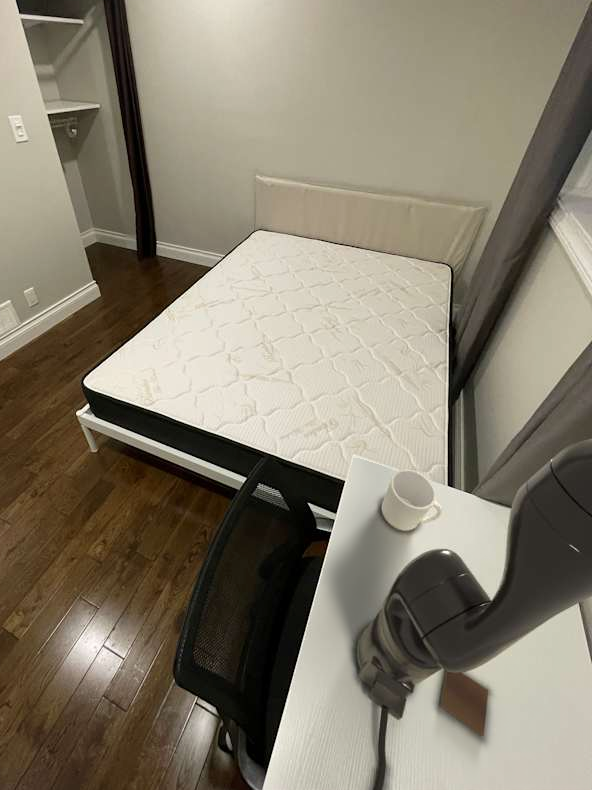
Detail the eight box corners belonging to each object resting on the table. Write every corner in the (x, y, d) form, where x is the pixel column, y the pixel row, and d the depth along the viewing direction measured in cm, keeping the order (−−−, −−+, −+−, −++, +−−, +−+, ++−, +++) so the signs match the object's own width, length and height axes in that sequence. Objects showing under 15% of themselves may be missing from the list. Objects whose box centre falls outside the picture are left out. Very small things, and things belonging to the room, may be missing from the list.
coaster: (481, 736, 55) (483, 735, 54) (439, 706, 57) (441, 705, 57) (485, 691, 59) (488, 690, 58) (446, 665, 61) (448, 663, 61)
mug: (372, 515, 81) (383, 490, 75) (389, 487, 86) (401, 461, 80) (421, 549, 76) (438, 525, 69) (435, 517, 81) (452, 492, 75)
